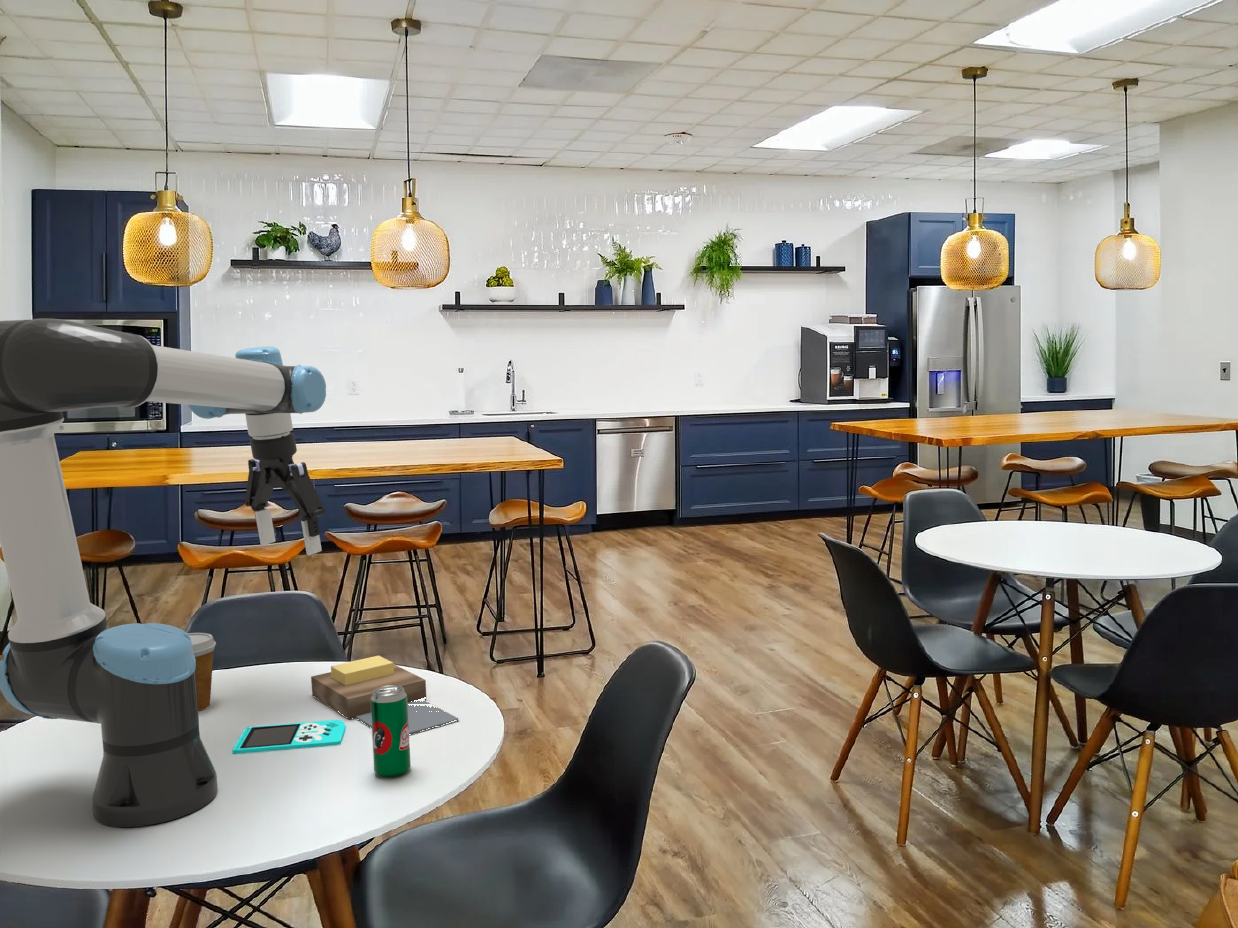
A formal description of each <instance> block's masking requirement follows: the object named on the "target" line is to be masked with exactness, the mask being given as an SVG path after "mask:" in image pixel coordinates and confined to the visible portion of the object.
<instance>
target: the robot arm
mask: <svg viewBox="0 0 1238 928" xmlns="http://www.w3.org/2000/svg"><path fill="white" fill-rule="evenodd" d="M326 397H327V384H326V381H325V377H324V375H323V374H322V371H320V370H319V369H318V368H317V367H314V366H312V365H311V366H310V365H301V364H297V365H284V364H283V360H282V355H281V352H280V349H279V348H277V347H275V346H257V347H255V346H254V347H248V348H243V349H239V350H237V351H236V352H235V355H234V357H231V356H225V355H218V354H212V353H211V354H210V353H205V352H199V351H193V350H186V349H181V348H175V347H174V348H172V347H168V346H161V345H160V346H159V345H154V344H152V343H151V342H150V340H148V339H147V338H145V337H144V336H142V335H140V334H139V335H138V334H135V333H128V332H123V331H119V330H113V329H109V328H105V327H99V326H95V325H92V324H91V325H90V324H86V323H81V322H77V321H71V320H67V319H65V320H64V319H59V318H45V317H44V318H43V317H42V318H32V319H18V320H17V319H13V320H12V319H11V320H0V549H1V552H2V553H1V554H2V557H3V561H4V562H3V563H4V565H5V566H4V567H5V570H6V574H7V579H8V583H9V586H10V591H11V594H12V600H13V605H14V609H15V612H16V616H17V620H16V622H15V623H14V624H13V626H12V627H11V628H10V629H9V630H8V633H7V636H8V637H7V638H8V642H9V643H8V644H7V645H6V646H5V647H4V649H3V651H2V655H3V658H2V659H1V660H0V691H1V693H2V695H3V696H4V698H5V700H6V701H7V702H8V703H9V704H10V705H11V706H12V707H13V708H15V709H16V710H19V711H20V712H23V713H25V714H28V715H32V716H36V717H41V718H43V719H46V720H47V719H48V720H58V719H59V720H60V719H61V720H67V721H76V722H85V723H93V724H94V723H95V724H100V728H101V729H100V730H101V738H102V749H103V750H102V752H103V753H102V754H103V755H102V760H101V764H100V767H99V771H98V775H97V779H96V783H95V787H94V790H93V793H92V799H91V800H92V801H91V803H92V813H93V814H92V815H93V818H94V819H95V820H96V821H97V822H98V823H100V824H103V825H106V826H108V827H109V826H111V827H117V828H119V827H120V828H130V827H131V828H132V827H141V826H142V827H143V826H151V825H156V824H160V823H164V822H169V821H172V820H174V819H175V820H176V819H178V818H181V817H184V816H186V815H188V814H192V813H194V812H195V811H197V810H199V809H202V808H203V807H205V806H206V805H208V804H209V803H210V802H211V801H212V800H213V799H214V798H215V797H216V796H217V794H218V791H219V790H218V789H219V788H218V787H219V786H218V776H217V775H218V774H217V772H216V769H215V767H214V764H213V763H212V760H211V758H210V757H209V754H208V751H207V749H206V747H205V745H204V743H203V741H202V739H201V734H200V724H199V723H200V721H199V718H200V717H199V711H198V699H197V681H196V663H195V662H196V659H195V656H194V654H193V647H192V642H191V639H190V637H189V635H188V633H187V632H186V631H185V630H183V629H181V628H179V627H176V626H173V625H169V624H165V623H157V622H148V623H137V622H136V623H134V622H133V623H126V624H122V625H121V624H120V625H117V626H116V625H115V626H113V627H109V624H108V621H107V616H106V612H105V610H104V609H103V608H101V607H99V606H97V605H95V604H93V603H91V602H90V597H89V592H88V587H87V583H86V578H85V577H86V576H85V573H84V569H83V564H82V559H81V554H80V551H79V546H78V541H77V536H76V532H75V527H74V521H73V517H72V513H71V509H70V504H69V499H68V495H67V489H66V486H65V485H66V484H65V481H64V477H63V476H64V475H63V472H62V471H63V470H62V466H61V462H60V458H59V453H58V452H59V451H58V448H57V444H56V443H57V442H56V438H55V432H56V431H57V430H58V428H59V427H60V426H61V425H62V423H63V422H64V420H65V418H64V413H63V412H69V411H71V412H72V411H76V410H77V411H78V410H86V409H96V408H97V409H98V408H109V407H110V408H111V407H112V408H113V407H114V408H115V407H117V408H119V407H120V408H136V407H139V406H141V405H142V404H144V403H146V402H151V403H164V404H165V403H166V404H174V405H175V404H177V405H187V406H188V408H189V409H190V411H191V412H192V413H193V414H194V415H195V416H196V417H198V418H201V419H205V420H209V419H214V418H217V419H218V418H222V417H223V416H226V415H237V414H238V415H244V414H245V420H246V426H247V433H248V434H247V435H249V436H250V437H252V438H251V439H250V440H249V443H250V449H251V454H252V458H251V459H248V460H247V464H248V465H247V466H248V475H247V476H248V477H247V483H246V492H245V497H244V505H245V506H246V507H250V509H251V510H252V511H253V513H254V517H255V523H256V527H257V531H258V537H259V542H260V546H262V547H263V546H266V545H270V544H272V543H275V542H276V536H275V530H274V529H275V528H274V524H273V518H272V513H271V507H270V504H269V501H270V498H271V496H272V492H273V490H274V488H275V486H276V487H277V488H281V489H282V491H284V492H286V493H287V494H288V496H289V497H290V499H291V501H292V502H293V504H294V505H295V507H296V508H297V510H298V511H299V513H300V515H301V517H302V518H301V519H300V522H301V523H300V524H301V528H302V535H303V540H304V547H305V551H306V552H305V553H306V555H307V556H308V557H309V556H312V555H314V554H317V553H320V552H322V544H321V543H322V542H321V537H320V535H321V534H320V532H321V531H320V527H319V518H318V517H320V516H322V515H324V514H325V513H326V509H325V507H324V505H323V503H322V501H321V499H320V497H319V495H318V492H317V491H316V487H315V486H314V483H313V481H312V479H311V477H310V475H309V472H308V468H307V463H306V462H304V461H302V462H299V463H296V464H295V462H294V459H293V457H294V455H296V453H297V451H298V449H297V442H296V437H295V436H296V435H295V434H294V433H293V432H291V431H293V430H294V426H293V420H292V416H291V414H303V413H314V412H316V411H318V410H320V409H321V407H323V405H324V404H325V401H326Z"/></svg>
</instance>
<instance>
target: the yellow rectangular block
mask: <svg viewBox="0 0 1238 928" xmlns="http://www.w3.org/2000/svg"><path fill="white" fill-rule="evenodd" d="M394 665H395V664H394V662H393V661H390V660H388V659H387V658H384V657H382V656H381V655H375V656H370V657H366V658H362V659H357V660H352V661H349V662H347V661H346V662H344V663H339V664H336V665H331V666H330V672H331V677H332V678H334V679H335V680H337V681H339V682H340V683H342V684H344V685H350V684H354V683H358V682H362V681H366V680H370V679H375V678H379V677H383V676H387V675H391V674H394Z"/></svg>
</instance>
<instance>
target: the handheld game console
mask: <svg viewBox="0 0 1238 928" xmlns="http://www.w3.org/2000/svg"><path fill="white" fill-rule="evenodd" d="M345 729H346V723H345V722H344V721H343V720H340V719H329V720H328V719H327V720H318V721H307V722H304V721H303V722H294V723H292V722H291V723H279V724H269V725H256V726H248V727H245V728H244V730H243V732H242V733H241V734H240V736H239V738H238V739H237V741H236V743H235V745H234V746H233V748H232V751H231V752H232V755H238V754H251V753H261V752H274V751H286V750H295V749H296V750H298V749H307V748H308V749H309V748H319V747H331V746H340V745H342V743H341V742H343V739H344V737H345V736H344V735H345V733H346V730H347V729H346V730H345Z"/></svg>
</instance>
